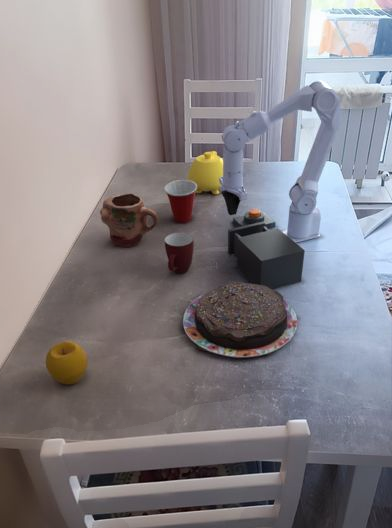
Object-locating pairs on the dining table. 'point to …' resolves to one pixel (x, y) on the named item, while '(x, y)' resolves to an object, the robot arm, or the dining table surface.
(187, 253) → the mug
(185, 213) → the plastic cup
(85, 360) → the apple
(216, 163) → the teapot
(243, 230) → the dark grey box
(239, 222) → the control block
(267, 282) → the black block
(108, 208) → the brown clay mug
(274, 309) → the chocolate cake
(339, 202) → the dining table surface
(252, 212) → the button
